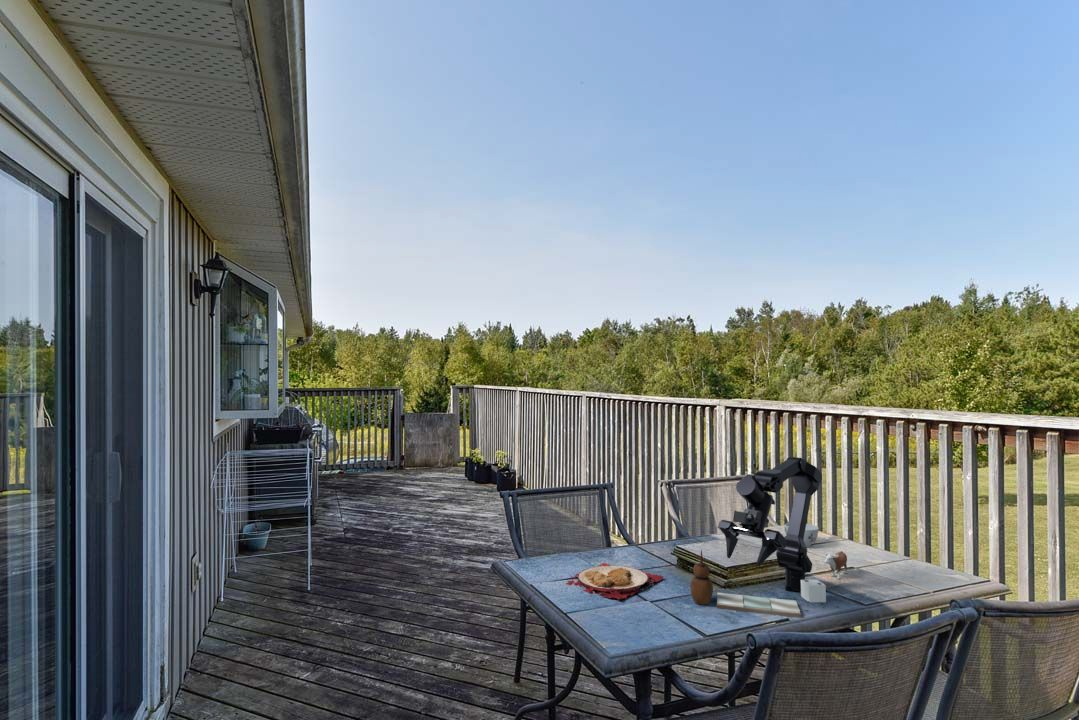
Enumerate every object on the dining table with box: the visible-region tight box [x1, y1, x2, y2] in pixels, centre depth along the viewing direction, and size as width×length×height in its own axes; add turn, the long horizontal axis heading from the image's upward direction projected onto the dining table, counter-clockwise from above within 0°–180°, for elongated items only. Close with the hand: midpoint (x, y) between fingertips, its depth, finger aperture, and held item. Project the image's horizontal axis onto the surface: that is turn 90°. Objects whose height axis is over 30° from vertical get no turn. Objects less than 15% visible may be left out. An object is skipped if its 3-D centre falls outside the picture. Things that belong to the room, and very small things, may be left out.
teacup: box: [784, 522, 820, 548], centre depth 230 cm, size 15×12×8 cm
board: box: [716, 592, 802, 618], centre depth 166 cm, size 10×22×1 cm, turn 73°
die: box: [800, 579, 827, 603], centre depth 172 cm, size 5×5×5 cm
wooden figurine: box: [690, 549, 714, 606], centre depth 169 cm, size 7×6×15 cm
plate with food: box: [565, 562, 664, 601], centre depth 187 cm, size 25×26×4 cm
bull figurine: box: [823, 550, 848, 580], centre depth 192 cm, size 4×13×8 cm, turn 131°
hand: (742, 561), depth 162 cm, fingers open, 9 cm apart
